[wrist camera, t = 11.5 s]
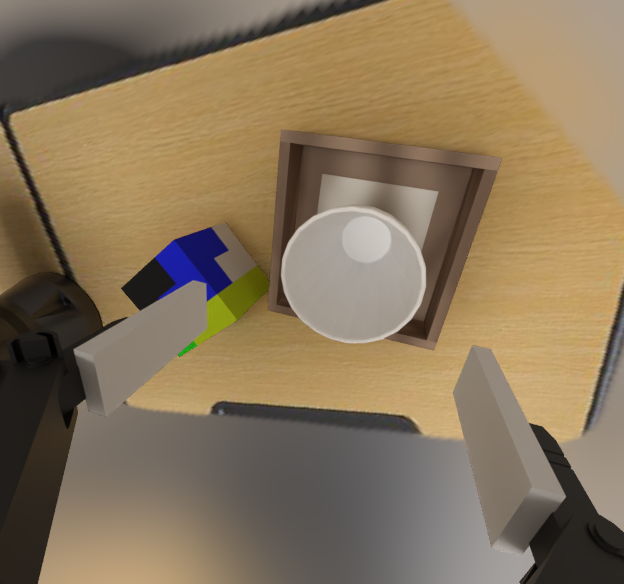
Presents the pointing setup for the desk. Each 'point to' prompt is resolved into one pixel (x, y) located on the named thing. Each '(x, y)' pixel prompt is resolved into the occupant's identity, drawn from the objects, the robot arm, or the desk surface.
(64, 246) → the desk surface
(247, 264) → the puzzle toy
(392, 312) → the cup
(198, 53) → the desk surface
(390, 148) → the walled box
